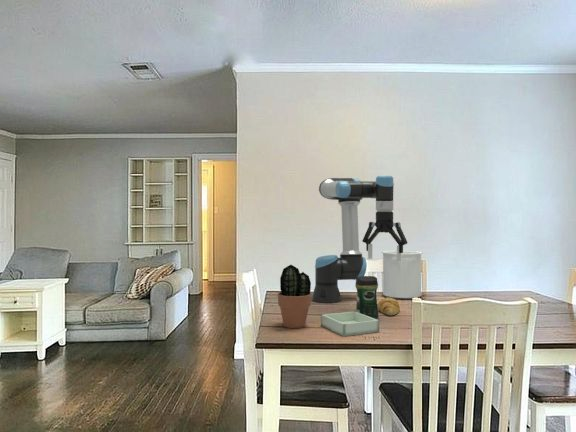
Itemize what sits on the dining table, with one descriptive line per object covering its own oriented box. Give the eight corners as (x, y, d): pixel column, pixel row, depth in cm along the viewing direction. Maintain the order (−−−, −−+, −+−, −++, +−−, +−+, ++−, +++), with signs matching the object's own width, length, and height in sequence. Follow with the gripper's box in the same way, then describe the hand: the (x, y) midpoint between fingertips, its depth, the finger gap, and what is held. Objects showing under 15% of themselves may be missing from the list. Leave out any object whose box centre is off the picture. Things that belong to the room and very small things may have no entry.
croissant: (396, 325, 208) (405, 309, 207) (376, 313, 209) (385, 298, 208) (392, 313, 229) (400, 299, 228) (373, 303, 230) (381, 289, 229)
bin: (321, 325, 192) (321, 314, 192) (354, 321, 199) (354, 311, 199) (343, 336, 176) (343, 324, 176) (379, 331, 182) (379, 320, 182)
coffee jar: (374, 316, 209) (374, 274, 209) (380, 320, 201) (380, 277, 201) (353, 317, 208) (353, 275, 208) (358, 321, 200) (358, 277, 200)
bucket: (380, 292, 272) (380, 249, 271) (418, 293, 269) (419, 250, 268) (383, 300, 246) (383, 253, 246) (425, 301, 243) (425, 254, 243)
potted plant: (300, 331, 183) (300, 267, 183) (271, 326, 190) (271, 265, 190) (317, 324, 195) (317, 263, 194) (289, 320, 202) (289, 262, 202)
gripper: (355, 211, 210) (354, 258, 210) (408, 211, 195) (408, 262, 195) (362, 210, 216) (362, 257, 216) (415, 211, 201) (415, 260, 201)
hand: (384, 259), depth 205 cm, fingers open, 13 cm apart
